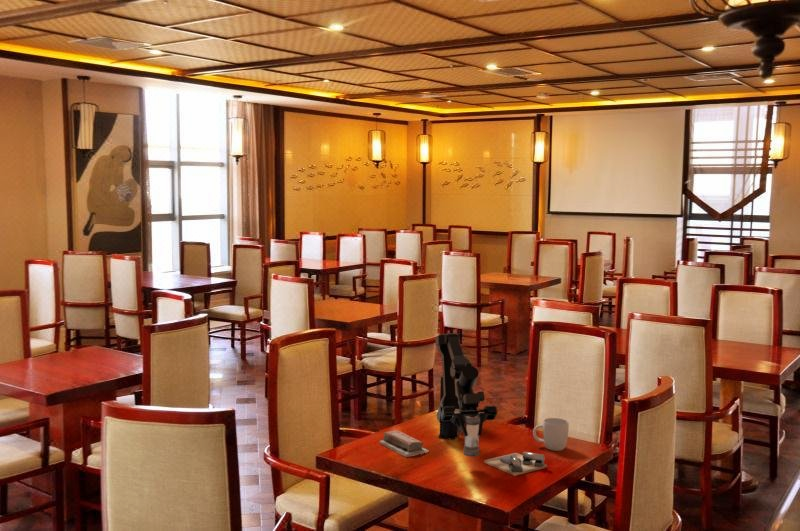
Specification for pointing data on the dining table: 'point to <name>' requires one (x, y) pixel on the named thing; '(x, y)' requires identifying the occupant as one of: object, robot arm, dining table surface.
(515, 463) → the shaft
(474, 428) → the drinking glass
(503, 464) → the board
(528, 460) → the shaft
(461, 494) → the dining table surface
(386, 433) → the packaged product
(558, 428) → the mug
